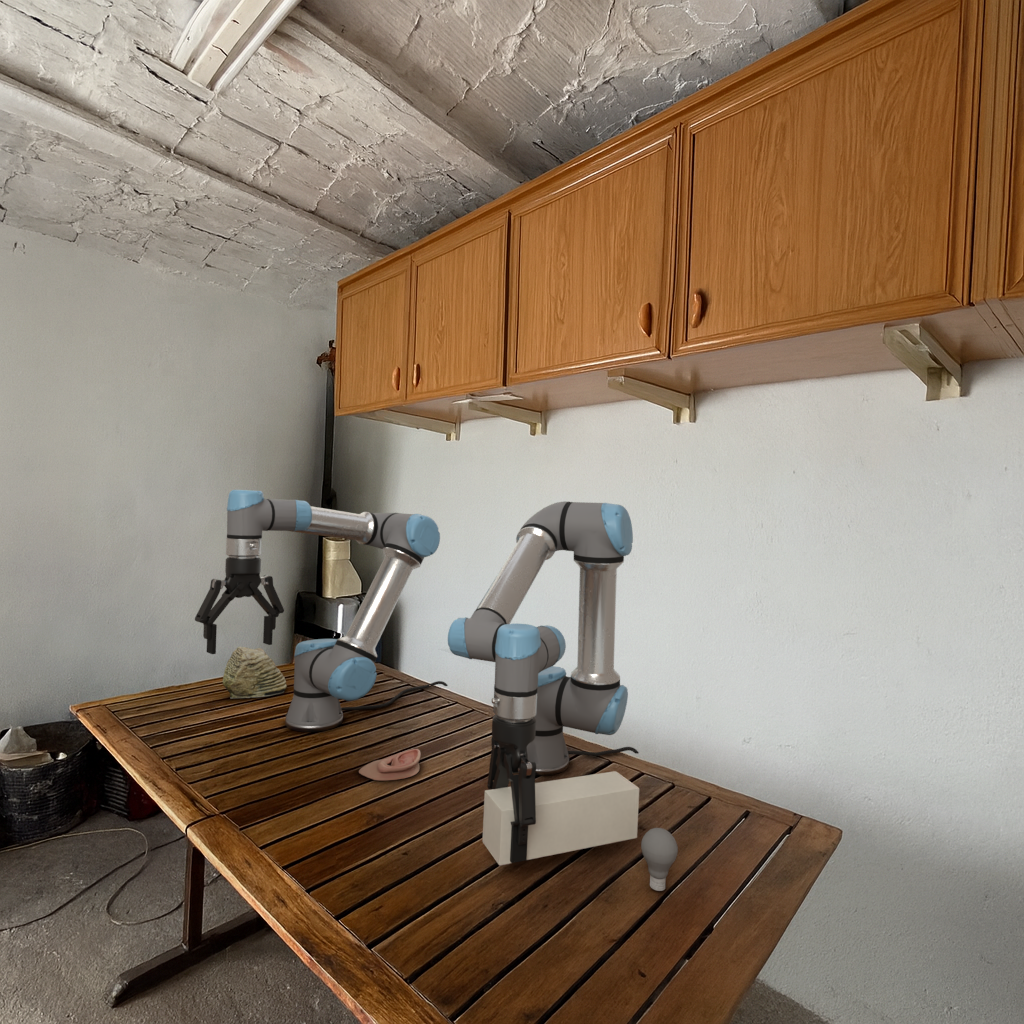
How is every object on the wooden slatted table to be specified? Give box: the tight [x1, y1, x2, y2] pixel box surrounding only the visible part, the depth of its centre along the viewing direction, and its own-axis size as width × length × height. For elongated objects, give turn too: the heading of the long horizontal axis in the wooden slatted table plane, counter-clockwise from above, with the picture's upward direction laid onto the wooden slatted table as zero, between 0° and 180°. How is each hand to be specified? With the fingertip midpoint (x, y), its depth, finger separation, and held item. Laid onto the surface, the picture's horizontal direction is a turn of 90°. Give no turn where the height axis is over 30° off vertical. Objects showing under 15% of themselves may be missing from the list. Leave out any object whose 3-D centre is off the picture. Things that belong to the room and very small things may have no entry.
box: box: [481, 770, 640, 866], centre depth 113 cm, size 27×8×9 cm, turn 114°
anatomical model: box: [358, 748, 422, 782], centre depth 147 cm, size 13×4×12 cm
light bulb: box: [640, 827, 679, 892], centre depth 106 cm, size 6×6×10 cm
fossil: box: [222, 646, 288, 699], centre depth 198 cm, size 9×18×15 cm, turn 132°
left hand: (240, 648), depth 146 cm, fingers open, 13 cm apart
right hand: (508, 847), depth 109 cm, fingers closed on box, 8 cm apart
